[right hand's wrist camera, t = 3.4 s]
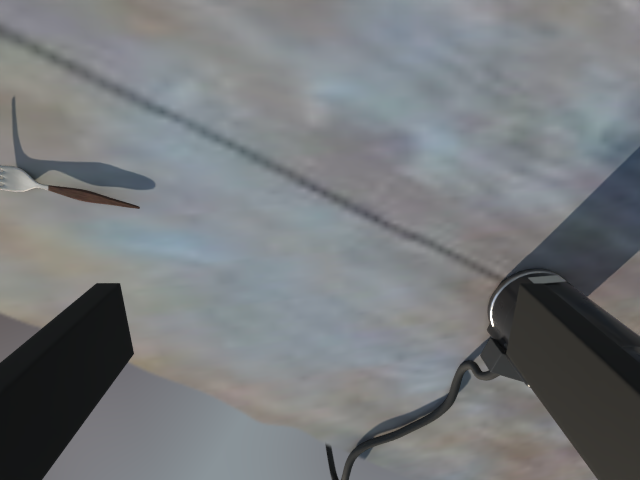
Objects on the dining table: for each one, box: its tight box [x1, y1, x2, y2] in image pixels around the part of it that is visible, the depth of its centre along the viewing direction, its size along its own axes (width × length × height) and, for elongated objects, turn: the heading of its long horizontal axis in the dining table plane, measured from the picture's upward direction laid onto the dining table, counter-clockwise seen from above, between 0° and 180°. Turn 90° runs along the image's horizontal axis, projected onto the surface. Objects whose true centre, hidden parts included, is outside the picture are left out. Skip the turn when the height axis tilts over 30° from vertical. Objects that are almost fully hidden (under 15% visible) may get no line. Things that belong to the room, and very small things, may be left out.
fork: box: [0, 166, 140, 209], centre depth 39 cm, size 3×16×2 cm, turn 77°
